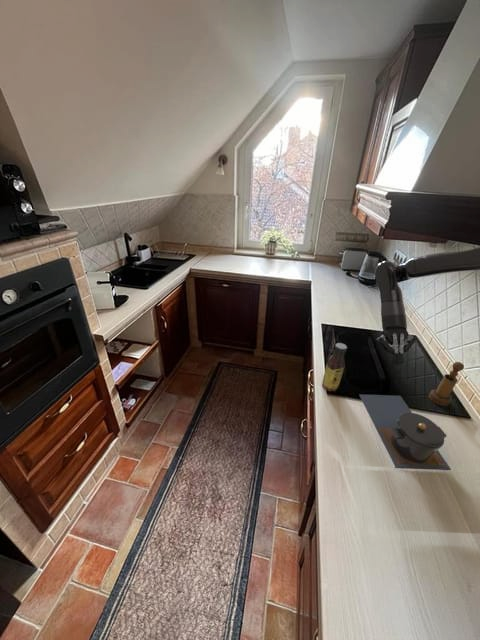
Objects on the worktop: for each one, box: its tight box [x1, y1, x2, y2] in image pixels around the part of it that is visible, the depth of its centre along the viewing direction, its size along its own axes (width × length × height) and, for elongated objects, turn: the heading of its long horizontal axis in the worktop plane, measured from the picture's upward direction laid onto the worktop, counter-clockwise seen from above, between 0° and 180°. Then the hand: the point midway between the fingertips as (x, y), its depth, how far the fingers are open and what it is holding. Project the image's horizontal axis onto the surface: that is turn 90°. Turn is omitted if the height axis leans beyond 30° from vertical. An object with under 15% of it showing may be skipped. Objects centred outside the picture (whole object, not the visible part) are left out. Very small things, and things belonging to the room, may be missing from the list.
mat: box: [358, 393, 452, 471], centre depth 85 cm, size 16×28×1 cm, turn 179°
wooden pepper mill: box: [428, 361, 465, 407], centre depth 92 cm, size 7×6×18 cm
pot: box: [391, 412, 447, 464], centre depth 77 cm, size 15×12×10 cm
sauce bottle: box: [321, 342, 348, 393], centre depth 96 cm, size 7×6×20 cm
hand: (398, 364), depth 87 cm, fingers closed
